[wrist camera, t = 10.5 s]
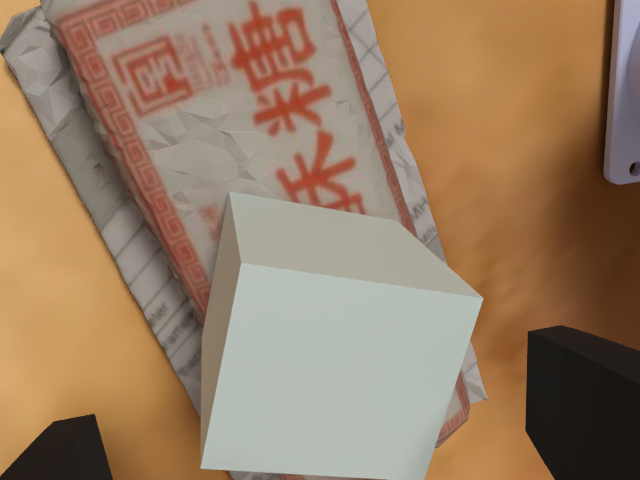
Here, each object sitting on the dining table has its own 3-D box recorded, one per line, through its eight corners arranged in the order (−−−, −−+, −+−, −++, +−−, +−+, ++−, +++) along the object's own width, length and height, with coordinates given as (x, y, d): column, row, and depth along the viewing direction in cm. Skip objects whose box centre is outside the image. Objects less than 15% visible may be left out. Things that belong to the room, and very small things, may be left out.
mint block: (396, 220, 15) (483, 298, 10) (360, 355, 16) (423, 481, 11) (229, 190, 14) (241, 262, 9) (201, 338, 15) (200, 468, 10)
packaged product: (-81, 15, 12) (369, -154, 12) (-1, 25, 16) (325, -100, 17) (256, 593, 18) (541, 465, 19) (246, 484, 23) (476, 383, 23)
